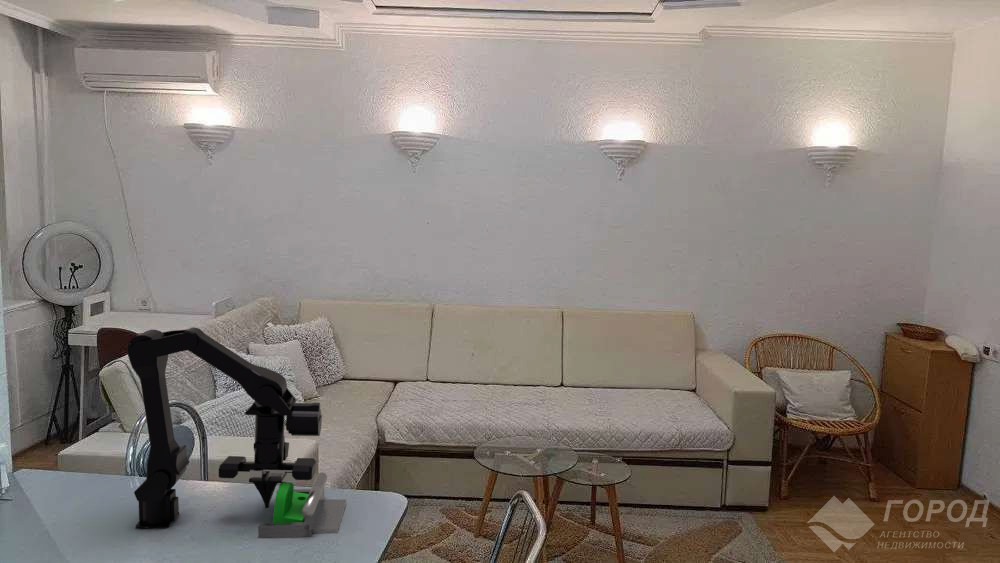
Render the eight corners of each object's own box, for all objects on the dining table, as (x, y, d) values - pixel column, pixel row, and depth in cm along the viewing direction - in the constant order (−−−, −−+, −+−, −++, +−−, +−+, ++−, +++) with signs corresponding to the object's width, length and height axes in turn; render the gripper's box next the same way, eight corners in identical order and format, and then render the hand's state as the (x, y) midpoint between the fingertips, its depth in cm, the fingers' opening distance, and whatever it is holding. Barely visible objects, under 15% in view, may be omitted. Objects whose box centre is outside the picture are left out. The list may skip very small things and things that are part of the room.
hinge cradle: (258, 537, 138) (257, 506, 137) (277, 500, 155) (277, 472, 154) (336, 536, 140) (336, 506, 139) (347, 499, 156) (347, 472, 156)
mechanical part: (301, 529, 142) (305, 492, 141) (272, 525, 142) (276, 487, 141) (317, 504, 154) (322, 469, 153) (290, 499, 154) (295, 465, 153)
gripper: (322, 424, 153) (320, 493, 154) (235, 422, 151) (233, 491, 153) (312, 441, 142) (310, 514, 143) (218, 438, 140) (216, 512, 142)
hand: (267, 507), depth 146 cm, fingers closed
